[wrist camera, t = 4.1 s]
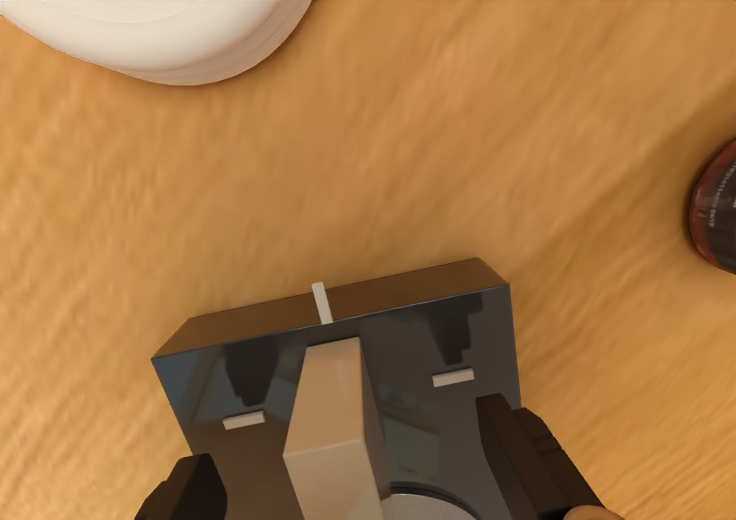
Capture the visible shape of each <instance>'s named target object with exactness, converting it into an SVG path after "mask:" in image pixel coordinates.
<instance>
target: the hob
mask: <svg viewBox="0 0 736 520" xmlns="http://www.w3.org/2000/svg"><path fill="white" fill-rule="evenodd" d="M311 286H312V289H313V293H308V294H303V295H299V296H294V297H289V298H284V299H280V300H275V301H270V302H265V303H261V304H256V305H251V306H246V307H242V308H237V309H232V310H227V311H223V312H218V313H213V314H208V315H204V316H199V317H194V318H189V319H188V320H187V321H186V322H185V323H184V324H183V325H182V326H181V327H180V328H179V329H178V330H177V331H176V332H175V333H174V335H173V336H172V337H171V338H170V339H169V340H168V341H167V342H166V343H165V344H164V345H163V346H162V347H161V348H160V349H159V350H158V351H157V352H156V353H155V354H154V355H153V357H152V358H151V362H152V364H153V366H154V369H155V371H156V373H157V375H158V378H159V380H160V382H161V384H162V387H163V389H164V391H165V393H166V396H167V398H168V400H169V402H170V405H171V407H172V409H173V411H174V414H175V416H176V418H177V420H178V423H179V425H180V427H181V430H182V432H183V434H184V436H185V439H186V441H187V443H188V445H189V448H190V450H191V452H192V454H193V455H198V454H203V453H209V454H210V455H211V457H212V459H213V461H214V463H215V466H216V468H217V470H218V473H219V475H220V477H221V480H222V482H223V485H224V487H225V489H226V493H227V500H228V505H227V512H226V516H225V519H224V520H305V519H304V516H303V513H302V510H301V507H300V504H299V502H298V499H297V496H296V493H295V490H294V487H293V484H292V482H291V479H290V476H289V473H288V470H287V467H286V465H285V462H284V459H283V452H284V447H285V443H286V438H287V434H288V430H289V425H290V421H291V416H292V412H293V407H294V403H295V398H296V394H297V389H298V385H299V380H300V376H301V371H302V367H303V362H304V358H305V353H306V349H307V348H308V347H311V346H316V345H321V344H325V343H330V342H335V341H340V340H345V339H350V338H354V337H359V338H360V340H361V344H362V349H363V353H364V357H365V361H366V365H367V369H368V373H369V378H370V382H371V386H372V390H373V394H374V398H375V403H376V407H377V411H378V415H379V419H380V423H381V427H382V432H383V436H384V440H385V444H386V451H387V460H388V468H389V477H390V486H391V488H415V489H421V490H427V491H432V492H435V493H439V494H442V495H444V496H447V497H449V498H452V499H454V500H456V501H457V502H459V503H461V504H463V505H464V506H465V507H467V508H468V509H469V510H471V511H472V512H473V513H474V514H475V515H476V516H477V517H478V518H479V519H480V520H513V519H512V517H511V515H510V512H509V510H508V508H507V505H506V503H505V501H504V499H503V496H502V494H501V492H500V490H499V487H498V485H497V483H496V480H495V478H494V476H493V474H492V471H491V469H490V467H489V465H488V462H487V460H486V457H485V454H484V451H483V447H482V443H481V438H480V431H479V424H478V417H477V411H476V404H475V398H476V397H481V396H486V395H491V394H496V393H502V394H503V396H504V397H505V399H506V401H507V402H508V404H509V405H510V407H511V409H512V410H514V409H519V408H522V407H521V397H520V387H519V377H518V366H517V356H516V346H515V336H514V326H513V316H512V305H511V295H510V285H509V283H508V282H507V281H505V280H504V279H503V278H502V277H501V276H500V275H498V274H497V273H496V272H495V271H494V270H493V269H491V268H490V267H489V266H488V265H487V264H486V263H485V262H483V261H482V260H481V259H480V258H474V259H469V260H465V261H460V262H455V263H450V264H446V265H441V266H436V267H432V268H427V269H422V270H417V271H413V272H408V273H403V274H398V275H394V276H389V277H384V278H379V279H375V280H370V281H365V282H360V283H356V284H351V285H346V286H341V287H337V288H332V289H327V290H325V287H324V283H323V281H321V282H316V283H312V285H311Z"/></svg>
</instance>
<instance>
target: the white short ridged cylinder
mask: <svg viewBox="0 0 736 520" xmlns="http://www.w3.org/2000/svg"><path fill="white" fill-rule="evenodd" d="M311 1H312V0H0V15H2V16H3V17H4V18H6V19H7V20H9V21H10V22H11V23H13V24H14V25H15V26H17V27H18V28H20V29H21V30H22V31H24V32H25V33H27V34H28V35H30V36H32V37H34V38H35V39H37V40H39V41H41V42H42V43H44V44H46V45H48V46H49V47H51V48H53V49H55V50H57V51H60V52H62V53H65V54H67V55H69V56H72V57H74V58H77V59H79V60H82V61H85V62H89V63H92V64H96V65H100V66H102V67H105V68H107V69H110V70H113V71H117V72H120V73H124V74H126V75H129V76H131V77H135V78H138V79H142V80H146V81H149V82H153V83H160V84H167V85H175V86H179V85H201V84H207V83H213V82H217V81H221V80H224V79H227V78H230V77H233V76H236V75H238V74H240V73H242V72H244V71H246V70H248V69H250V68H252V67H253V66H255V65H256V64H258V63H259V62H261V61H262V60H264V59H265V58H266V57H268V56H269V55H270V54H271V53H272V52H273V51H274V50H275V49H277V48H278V47H279V46H280V45H281V44H282V43H283V42H284V41H285V39H286V38H287V37H288V36H289V35H290V33H291V32H292V31H293V30H294V29H295V27H296V26H297V24H298V23H299V21H300V20H301V18H302V17H303V15H304V14H305V12H306V11H307V9H308V7H309V5H310V3H311Z"/></svg>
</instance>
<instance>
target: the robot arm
mask: <svg viewBox="0 0 736 520" xmlns="http://www.w3.org/2000/svg"><path fill="white" fill-rule="evenodd" d="M475 404H476V411H477V417H478V424H479V431H480V438H481V443H482V447H483V451H484V454H485V457H486V460H487V462H488V465H489V467H490V469H491V471H492V474H493V476H494V478H495V480H496V483H497V485H498V487H499V490H500V492H501V494H502V496H503V499H504V501H505V503H506V505H507V508H508V510H509V512H510V515H511V517H512V519H513V520H625V519H624V518H622V517H621V516H619V515H618V514H616V513H614V512H612V511H610V510H608V509H607V508H606V507H605V506H604V505H603V504H602V503H601V502H600V500H599V499H598V498H597V496H596V495H595V493H594V492H593V491H592V489H591V488H590V486H589V485H588V483H587V482H586V481H585V479H584V478H583V476H582V475H581V474H580V472H579V471H578V469H577V468H576V467H575V465H574V464H573V462H572V461H571V460H570V458H569V457H568V455H567V454H566V453H565V451H564V450H562V448H561V446H560V444H559V443H558V441H557V440H556V439H555V437H553V435H552V433H551V431H550V430H549V429H548V427H547V426H546V424H545V423H544V422H543V420H542V419H541V418H540V417H538V416H537V415H535V414H534V413H532V412H531V411H530V410H528V409H527V408H525V407H524V408H519V409H514V410H512V409H511V407H510V405H509V404H508V402H507V401H506V399H505V397H504V396H503V394H502V393H496V394H491V395H486V396H481V397H476V398H475ZM227 505H228V500H227V493H226V489H225V487H224V485H223V482H222V480H221V477H220V475H219V473H218V470H217V468H216V466H215V463H214V461H213V459H212V457H211V455H210V454H209V453H203V454H198V455H193V456H188V457H184V458H181V459H179V460H178V462H177V463H176V465H175V467H174V468H173V470H172V472H171V474H170V476H169V477H168V479H167V481H162V482H161V483H160V484H159V485H158V486H157V488H156V489H155V490H154V491H153V492H152V493H151V494H150V495H149V496H148V497H147V498H146V499H145V501H144V503H143V504H142V506H141V508H140V510H139V511H138V513H137V515H136V516H135V518H134V520H224V519H225V516H226V512H227Z"/></svg>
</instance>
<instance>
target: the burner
mask: <svg viewBox="0 0 736 520" xmlns="http://www.w3.org/2000/svg"><path fill="white" fill-rule="evenodd" d="M391 494H392V503H393V512H394V520H480V519H479V518H478V517H477V516H476V515H475V514H474V513H473V512H472V511H471V510H469V509H468V508H467V507H465V506H464V505H463V504H461V503H459V502H457V501H456V500H454V499H452V498H449V497H447V496H444V495H442V494H439V493H435V492H432V491H427V490H421V489H415V488H391Z"/></svg>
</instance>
